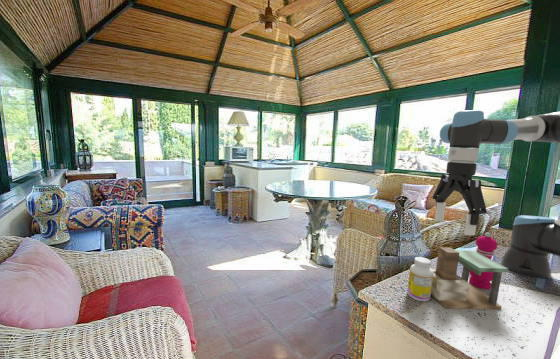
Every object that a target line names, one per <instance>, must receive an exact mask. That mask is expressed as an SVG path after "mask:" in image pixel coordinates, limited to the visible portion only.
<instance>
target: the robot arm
mask: <svg viewBox="0 0 560 359" xmlns="http://www.w3.org/2000/svg"><path fill="white" fill-rule="evenodd" d="M439 138H440V140H441V141H442V142H443V143H444V144H449V150H448V156H447V160H448V162H447V164H446V170H445V171H446V173H447V174H441V175H440V181H439V183H438V185H437V187H436V189H435V191H434V193H433V195H432V199H433V200H434V201H435V202H436V203H435V204H436V205H435V214H434V215H435V217H434V221H436V222H444V221H445V213H446V206H447V204H446V200H447V199H448V198H449V197H450V195H451V194H452V193H453V192H457V193H458V192H459V194H460V195H461V196H462V198H463V201H464V202H465V206H466V207H467V209H468V212H467V213H466V217H465V218H466V220H465V226H464V232H463V234H464V236H476V229H477V226H478V224H479V219H480V216H481V215H486V214H488V211H487V207H486V202H485V199H484V196H483V192H482V181H481V180H480V179H473V176H475V175H476V171H477V166H478V164H477V163H476V162H477V161H478V160H479V154H480V153H479V151H480V145H481V144H483V145H484V144H485V145H505V144H509V143H511V142H512V141H514V140H515V141H516V140H521V141H524V142H543V143H555V144H558V143H559V144H560V111H555V112H550V113H544V114H539V115H529V116H526V117H524V118H519V119H504V118H503V119H496V118H494V119H492V118H491V119H490V118H485V112H484V111H482V110H477V109H476V110H475V109H473V110H472V109H471V110H461V111H456V112H455V113H454V115H453V118H452V122H450V123H447V124H444V125H443V126H442V127H441V129H440V130H439ZM549 254H551V255H553V256H557V257H559V258H560V218H558V219H555V218H551V217H546V216H537V215H527V214H526V215H525V214H523V215H522V214H521V215H517V216H516V217H515V218H514V221H513V223H512V231H511V237H510V242H509V247H508V249H507V251H506V252H505V253H504V255H503V256H502V257H501V261H500V265H502V266H504V267H506V268H508V270H511V271H513V272H514V273H517V274H521V275H523V276H527V277H532V278H538V279H539V278H540V279H549V278H551V276H552V269H551V266H550V261H549Z"/></svg>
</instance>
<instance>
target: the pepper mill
mask: <svg viewBox="0 0 560 359" xmlns="http://www.w3.org/2000/svg"><path fill="white" fill-rule="evenodd" d="M475 245H476V246H477V247H476V250H475V251H476V252H477V253H479V254H481V255H483V256H485V257H487V258H489V259H491V260H492V257H494V255H495V250H497V248H498V242H497V240H496V239H494V238H493V237H492V234H491V233H490V232H485V233H484V235H481V236H478V237H477V238H476V240H475ZM492 277H493V272H481V275H478V274H476V273H474V272H473V271H471V270H470V272H469V278H468V283H469V284H471V285H472V286H474V287H475V288H477V289H482V290H490V288H491V282H492Z"/></svg>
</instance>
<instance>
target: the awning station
mask: <svg viewBox="0 0 560 359" xmlns="http://www.w3.org/2000/svg"><path fill="white" fill-rule="evenodd" d="M456 251H457V252H459V259H458V264H461V265H462V272H461V276H460V275H457V274H456V279H455V280H443V279H441V278H440V277H439V276H438V275H436V274H435V273H436V268H431V269H432V270H433V279H432V287H431V295H430V296H432V297H433V299H435V300H436V301H437V302H438V303H439V304H440V305H441V306H442V307H443V308H444V309H464V310H465V309H469V310H470V309H471V310H478V309H479V310H480V309H481V310H502V305H501V304H499V303H498V297H499V291H500V286H501V279H502V275H503V273H509V269H508V268H506V267H505V266H503V265H502V264H501V263H499V262H497V261H494V260H493V259H492V258H491V259H489V258H487V257H485V256H483V255H481V254H479V253H477V252H476V250H460V249H459V250H457V249H456ZM470 270H471V271H473V272H474V273H476V274H478V275H481V272H493V277H492V281H490V282H491V288H490V289H489V294H488V295H489V296H488V295H486V294H485V293H484V292H482V291H481V290H480V289H479V288H477V287H475V286H473V285H472V284H471V283H470V282H469V279H470V273H469V272H470Z"/></svg>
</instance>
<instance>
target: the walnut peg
mask: <svg viewBox="0 0 560 359" xmlns="http://www.w3.org/2000/svg"><path fill="white" fill-rule="evenodd" d="M456 250H457V249H456ZM456 250H455V249H454V248H452V247H444V246H443V247H441V246H440V247H438V253H437V259H436V266H435V269H436V273H435V274H436V275H438V276H439V277H440V278H441V279H443V280H455V279H456V275H457V270H458V265H459V262H458V259H459V252H457V251H456Z"/></svg>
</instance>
